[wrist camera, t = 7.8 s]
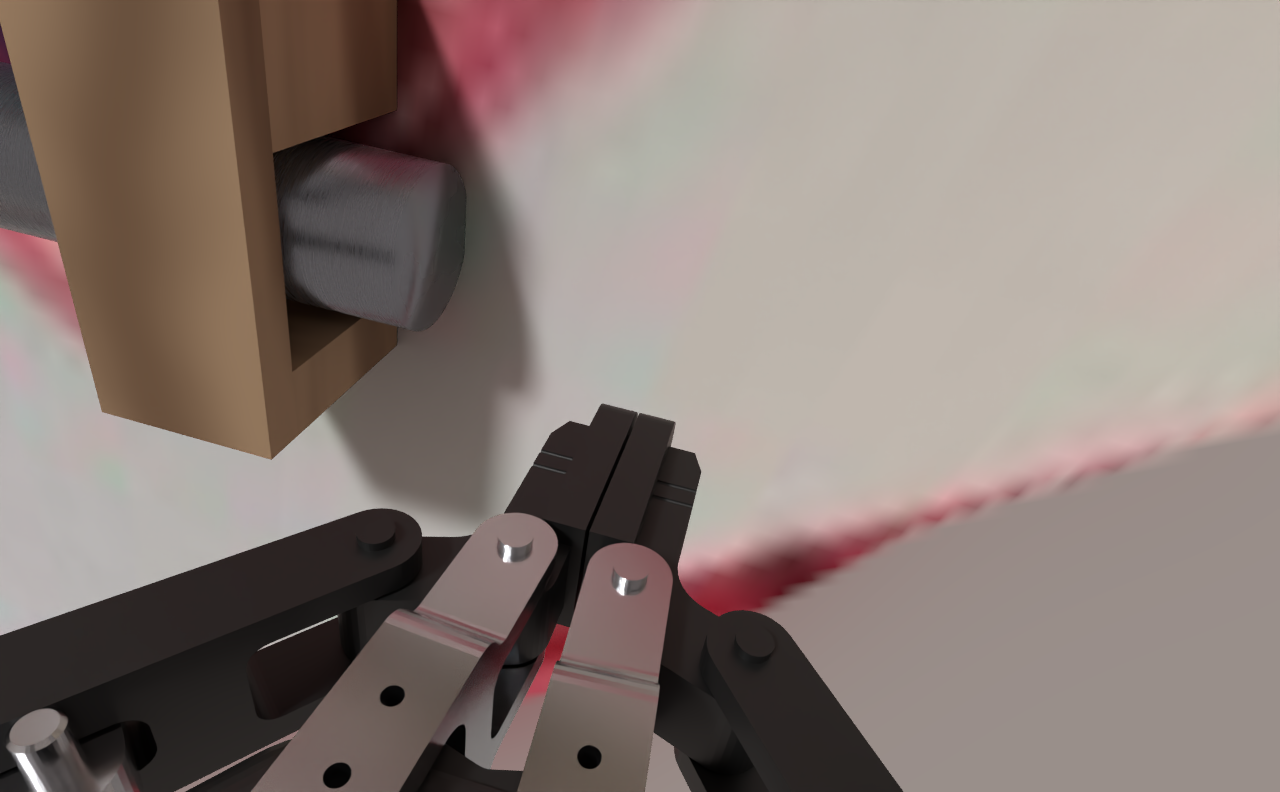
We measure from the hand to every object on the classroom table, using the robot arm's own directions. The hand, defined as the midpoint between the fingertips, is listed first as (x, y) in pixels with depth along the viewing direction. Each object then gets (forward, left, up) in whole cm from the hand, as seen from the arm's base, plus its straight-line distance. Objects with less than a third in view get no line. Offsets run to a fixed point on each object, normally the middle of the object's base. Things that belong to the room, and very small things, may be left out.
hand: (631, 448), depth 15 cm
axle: (+14, 0, -9) cm, 17 cm away
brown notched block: (+12, -1, -9) cm, 15 cm away
